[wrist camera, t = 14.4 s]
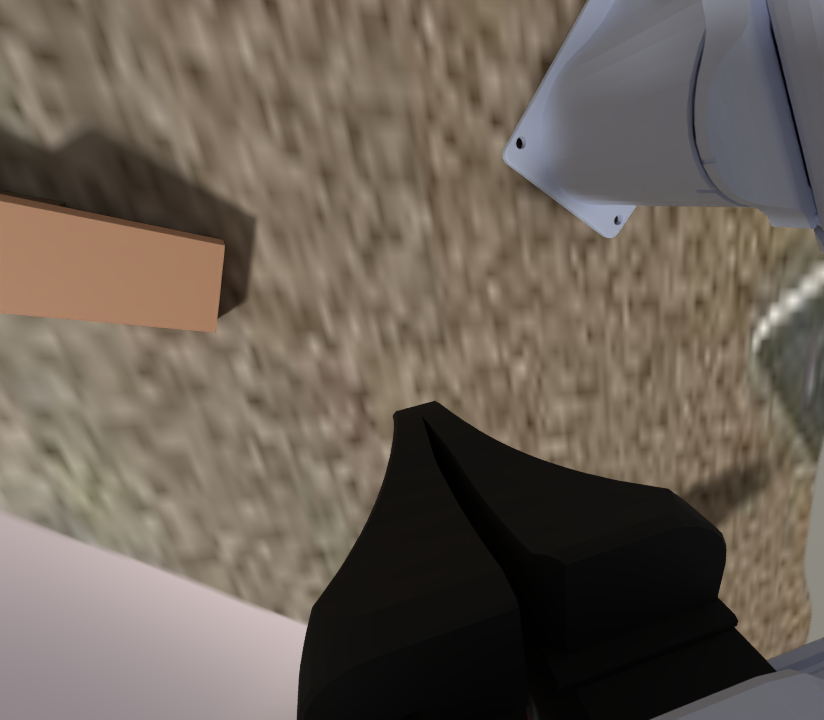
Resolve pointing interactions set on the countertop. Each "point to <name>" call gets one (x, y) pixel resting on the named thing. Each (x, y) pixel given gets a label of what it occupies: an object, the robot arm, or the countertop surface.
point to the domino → (105, 268)
